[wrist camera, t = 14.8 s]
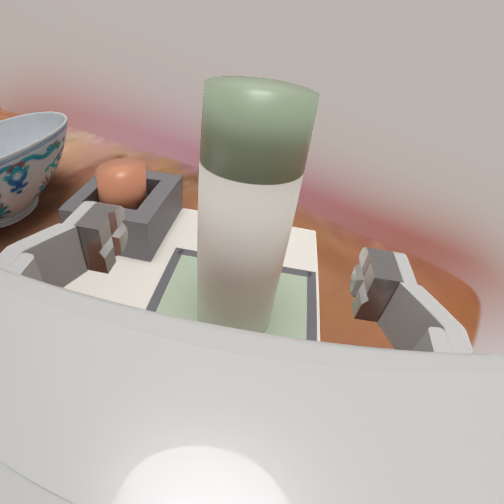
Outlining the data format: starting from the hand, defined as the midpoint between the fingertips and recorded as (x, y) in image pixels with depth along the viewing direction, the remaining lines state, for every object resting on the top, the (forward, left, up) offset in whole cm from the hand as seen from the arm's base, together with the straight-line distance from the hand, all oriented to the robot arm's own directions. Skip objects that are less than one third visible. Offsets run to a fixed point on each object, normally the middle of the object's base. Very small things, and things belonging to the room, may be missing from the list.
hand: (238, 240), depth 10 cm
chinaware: (-24, +10, -9) cm, 28 cm away
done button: (-10, +10, -6) cm, 15 cm away
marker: (0, +3, -7) cm, 8 cm away
